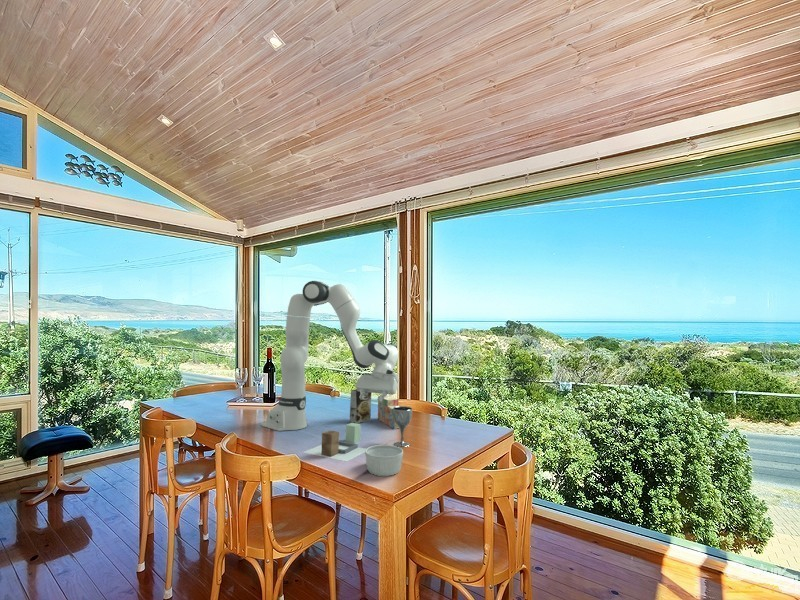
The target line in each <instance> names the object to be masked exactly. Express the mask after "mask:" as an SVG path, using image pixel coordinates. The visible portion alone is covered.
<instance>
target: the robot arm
mask: <svg viewBox="0 0 800 600" xmlns="http://www.w3.org/2000/svg"><path fill="white" fill-rule="evenodd" d="M326 303H329V305H331V306H332V308H333V310H334V312H335V314H336V315H337V317H338V320H339V324H340V328H341V332H342V334H343V336H344V338H345V341H346V342H347V344H348V347H349V349H350V351H351V354H352V359H353V361H354V363H355V365H356V366H357V367H359V368H361V369H368V368H369V367H371V366H372V365H373V364H374V366H373V367H374V368H373V370H372V372H371V373H364V374H362V375H360V377H359V378H358V380H357V381H356V383H355V386H354V387H355V389H357V391H360V397H359V398H360V399H364V397H365V396H364V395H363V393H365V392H370V393H371V394H381V395H378V396H377V398H376V399H377V402H378V401H382V399H383V398H384V397H386V396H388V395H389V396H391V395H392V396H394V395H395V394H396V393H397V390H398V387H399V382H400V379H399V376H398V375H397V373H396V372H395V371H394V369H395V367H396V365H397V362H398V360H399V359H398V358H399V350H398V348H397V347H395V346H394V345H392V344H385V343H382V342H381V341H380V340H378V339H373V340H370V341H369V342H367V343H365V345H363V343H362V341H361V338H360V337H359V335H358V333H357V329H356V327H357V322H358V320H359V318H360V314H361V309H360V307H359V303H358V302H357V300H356V299H355V298H354V296H353V295H352V293H351V292H350V291H349V290H348V288H347V287H346V286H345V285H343V284H341V283H340V284H338V283H337V284H334V285H333V286H329V285H328V284H326V283H324V282H323V281H317V280H311V281H307V282H306V283H305V284H304V286H303V288H302V293H297V294H293V295H292V296H291V297H290V300H289V303H288V306H287V313H286V323H285V348H283V350H282V351H281V353H280V357H279V360H280V374H281V395H280V397H278V398H276V401H278V402H277V403H278V404H277V405H276V406H274V407H273V408H272V409H271V410H269V411H268V412H267V415H266V419H265V421H263V422H261V423H260V426H262V427H263V428H264V427H265V428H268V429H270V430H275V431H278V432H280V431H296V430H297V431H298V430H302V429H304V428H307V427H308V421H307V416H306V403H307V399H306V398H307V397H306V374H305V373H306V371H305V363H306V362H307V361H308V358H309V344H310V343H309V341H310V340H309V339H310V337H309V334H310V333H309V331H310V322H311V313H312V312H311V311H312V308H313V307H317V306H321V305H324V304H326Z"/></svg>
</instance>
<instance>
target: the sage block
mask: <svg viewBox="0 0 800 600" xmlns="http://www.w3.org/2000/svg"><path fill="white" fill-rule="evenodd" d="M361 424H362V423H353V422H350V423H348V424H346V425H345V439H344V442H348V443H354V444H357V443H359V442H361V435H362V433H361V432H362V431H361V429H362V428H361V427H362V426H361Z"/></svg>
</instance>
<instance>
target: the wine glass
mask: <svg viewBox="0 0 800 600" xmlns="http://www.w3.org/2000/svg"><path fill="white" fill-rule="evenodd" d="M393 415H394V421H395V423H396V424H397V425H398V427H399V430H400V436H401V437H400V438H401V439H400V441H395V442H394V443H393V446H394V445H395V446H398V447H400V448H406V447H407V446H408V447H410V446H411V443H410V442H408V441H407V442H406V441H404V432H405V429H406V428H407V427H408V426H409V424H410V423H411V421H412V418H413V408H412V407H410V406H405V405H404V406H403V405H402V406H401V405H398V407H394V408H393ZM409 443H410V444H409ZM409 445H410V446H409ZM408 447H407V448H408Z"/></svg>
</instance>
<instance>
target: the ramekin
mask: <svg viewBox="0 0 800 600" xmlns="http://www.w3.org/2000/svg"><path fill="white" fill-rule="evenodd" d="M365 449H366V450H365V452H364V455H365V463H366V464H365V465H366V469H367V471H368V473H370V474H371V475H373V474H374V475H373V476H376V475H378V476H377V477H390V476H389V475H392V476H395V475H397V474H398V473H399V472H400V471H401V468H402V464H403V456H404V450H403V448H402V447H397V446H394V444H392V445H391V444H375V445H371V446H369V447H367V448H365ZM394 474H395V475H394Z"/></svg>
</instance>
